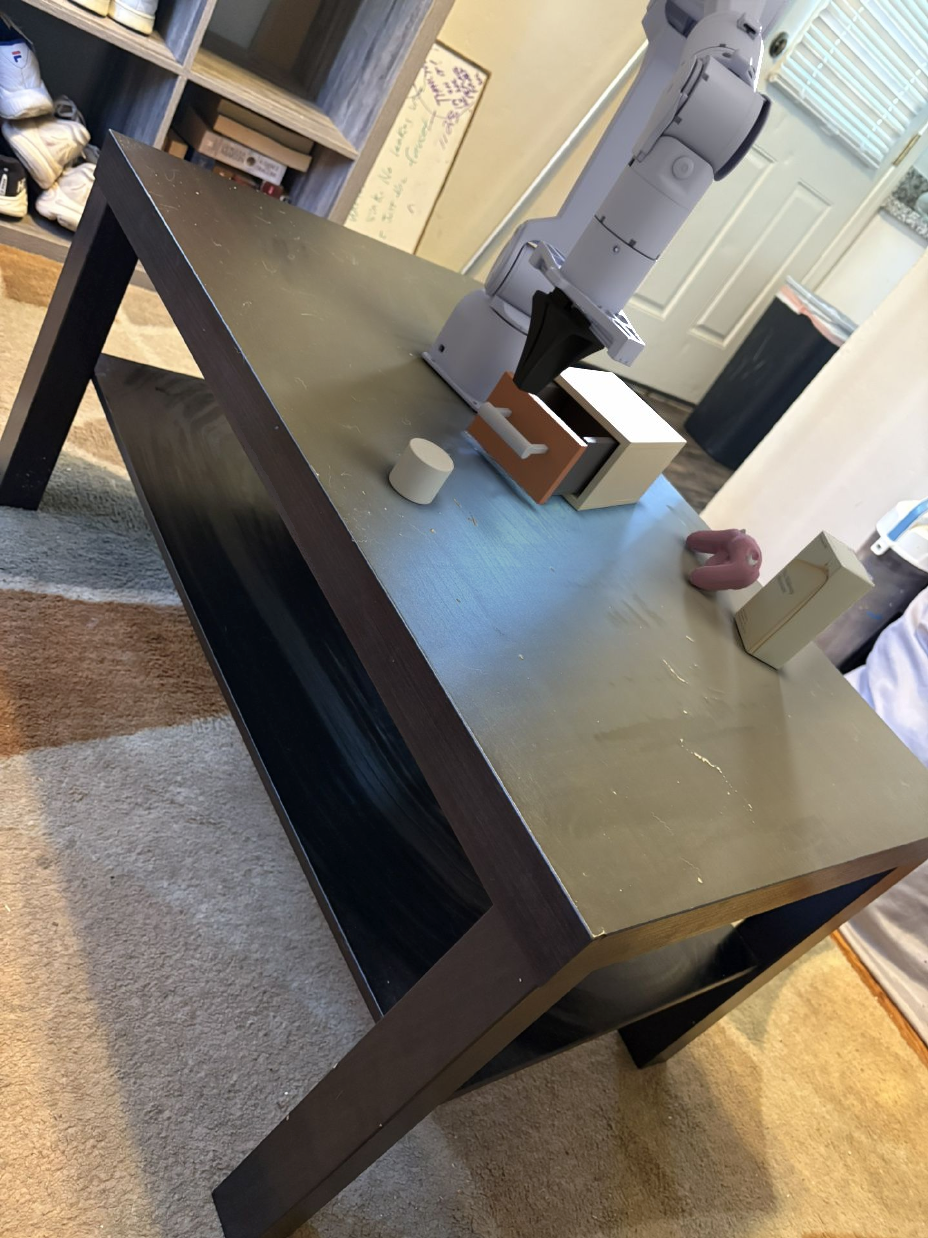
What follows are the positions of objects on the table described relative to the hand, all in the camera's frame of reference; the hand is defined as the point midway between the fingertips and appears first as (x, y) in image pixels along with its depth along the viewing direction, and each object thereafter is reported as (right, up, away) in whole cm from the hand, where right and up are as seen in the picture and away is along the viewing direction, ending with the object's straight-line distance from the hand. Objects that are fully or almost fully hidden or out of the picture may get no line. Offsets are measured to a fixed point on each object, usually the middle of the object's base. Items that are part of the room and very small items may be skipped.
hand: (524, 387), depth 72 cm
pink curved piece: (+21, -14, +21) cm, 33 cm away
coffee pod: (-9, -8, -1) cm, 13 cm away
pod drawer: (+1, -4, +13) cm, 13 cm away
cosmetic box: (+24, -22, +15) cm, 35 cm away
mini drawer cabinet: (+7, -3, +21) cm, 22 cm away
